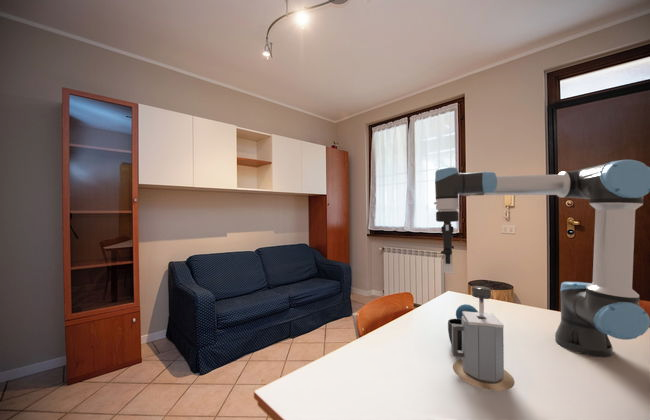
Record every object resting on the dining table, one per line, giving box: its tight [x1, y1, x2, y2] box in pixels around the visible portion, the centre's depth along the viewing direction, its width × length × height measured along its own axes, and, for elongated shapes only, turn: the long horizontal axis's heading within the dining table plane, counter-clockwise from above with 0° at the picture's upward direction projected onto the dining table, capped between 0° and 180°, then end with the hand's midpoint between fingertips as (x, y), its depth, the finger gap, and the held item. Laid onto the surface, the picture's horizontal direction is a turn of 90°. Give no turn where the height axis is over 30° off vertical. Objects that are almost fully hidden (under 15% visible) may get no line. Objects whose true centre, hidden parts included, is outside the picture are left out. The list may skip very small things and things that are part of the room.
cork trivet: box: [452, 358, 515, 392], centre depth 82 cm, size 16×16×1 cm
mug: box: [447, 318, 462, 351], centre depth 97 cm, size 8×12×10 cm
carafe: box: [451, 311, 505, 384], centre depth 82 cm, size 13×10×17 cm
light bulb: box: [455, 303, 479, 319], centre depth 108 cm, size 8×8×12 cm
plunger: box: [471, 285, 492, 327], centre depth 82 cm, size 8×8×12 cm
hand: (448, 269), depth 98 cm, fingers open, 13 cm apart
